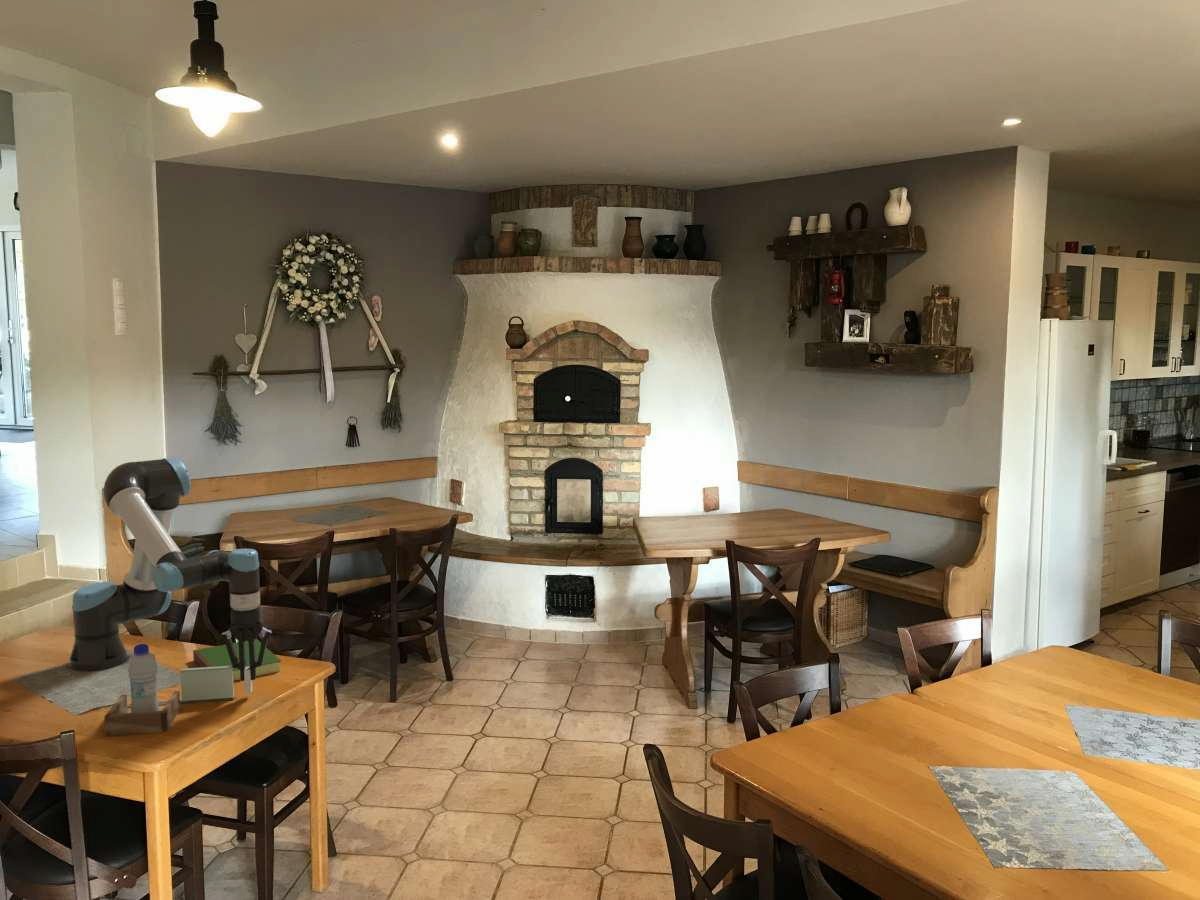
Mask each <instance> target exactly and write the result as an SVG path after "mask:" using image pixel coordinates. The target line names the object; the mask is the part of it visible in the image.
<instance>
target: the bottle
mask: <svg viewBox="0 0 1200 900" xmlns="http://www.w3.org/2000/svg"><path fill="white" fill-rule="evenodd" d="M127 673H128V675H127V677H129V681H130V684H129V685H130V699H131V703H130V704H131V707H130V713H139V712H153V711H160V710H159V708H160V707H159V705H158V702H159V701H158V689H157V673H158V664H157V660H156V656H155V654H154V653H151V652H150V647H149V645H148V644H146V643H140V644H139V643H138V644H137V645H135V646H134V647H133V655H132V656H130V657H129V659H128V666H127Z"/></svg>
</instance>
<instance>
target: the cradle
mask: <svg viewBox="0 0 1200 900" xmlns="http://www.w3.org/2000/svg"><path fill="white" fill-rule="evenodd" d="M180 693H181V692H180V690H174V691H173V693H172V694H171V696H170V698H168V700H167V701H158V706H164V707H163V708H162V710H159V711H153V712H139V713H131V712H128V711H129V709H128V708H131V703H129V705H128V694H127V693H126V694H125V693H124V694H121V695H120V696H119V697H118V698H117V700H116V701H115V703H114V704H112V706H111V707H110V709H109V710H108V712H106V714H105V715H104V717H103V719H104V720H103V721H104V733H105V735H104V736H105V737H113V736H127V735H139V734H141V735H142V734H155V733H166V732H167V733H168V730H169V729H170V727H171V726H172V724H173V722H174V720H175V718H176V717H177V715H178V713H179V712H180V710H181V704H182V705H183V704H185V705H186V704H198V703H211V702H212V703H213V702H215V703H216V702H225V701H227V700H229V701H235V699H236V696H234V697H233V698H222V699H208V700H193V701H182V699H181V698H180V697H181V696H180Z"/></svg>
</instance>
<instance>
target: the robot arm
mask: <svg viewBox="0 0 1200 900" xmlns="http://www.w3.org/2000/svg"><path fill="white" fill-rule="evenodd" d="M191 488H192V482H191V477H190V474H189V470H188V468H187V467H186V465H185V464H184V462H183V461H182V460H180V459H178V458H175V457H172V458H165V457H164V458H161V459H152V460H151V459H150V460H142V461H129V462H128V461H127V462H125V463H121V464H119V465H117V466H116V467H115V468H114V469H112V470H111V471H110V473H109V474H108V475H107V477H106V479H105V482H104V484H103V498H104V501H105V504H106V506H107V507H108V509H109V510H110V511H111V513H112V514H114V515H118V516H119V517H120V519H121V520H122V521H123V523H124V525H125V526H126V528H127V529H128V531H129V532H130V533H131V534H132V536H133V538H134V540H135V543H134V547H133V553H132V560H131V567H130V570H129V571H128V572H126V573H125V574H124V576H123V582H122V583H121V584H116V583H115V582H114V581H102V582H93V583H90V584H88V585H84V586H82V587H80V588H78V589H77V590H76V591H75V592H74V593H73V595H72V605H71V608H72V615H73V619H72V620H73V628H74V630H73V633H74V643H73V646H72V648H71V652H70V655H69V668H70V669H71V670H75V671H79V672H80V671H83V672H87V671H89V672H91V671H101V670H106V669H109V668H113V667H117V666H119V665H122V664H123V663H125V662H126V661H127V658H128V656H127V649H126V648H125V645H124V643H123V640H122V638H121V637H120V633H119V632H120V631H119V625H120V624H125V623H130V622H133V621H138V620H142V619H146V618H152V617H155V616H159V615H161V614H163V613H165V612H166V611H167V609H168V608H169V606H171V605H170V604H171V601H172V592H174V591H180V590H183V589H188V588H191V587H195V586H196V587H197V586H201V585H205V584H210V583H211V584H212V583H216V582H221V581H222V582H223V581H224V582H227V583H229V584H228V585H229V605H230V607H231V609H230V626H229V627H228V630H227V631H224V632H222V633H221V635H220V638H221V640H222V641H223V642H224V643H225V644H224V645H226V647H227V650H228V654H229V657H230V660H231V663H232V666H233V668H238V669H240V682H244V694H252V691H253V681H255V680H256V678H257V676H256V667H260V666H261V665H262V662H263V658H264V653H265V649H266V648H267V644H268V640H269V638H270V637H271V634H272V632H273V631H272V629H267V628H266V627H264V625H263V623H262V619H261V617H262V616H261V613H262V612H261V607H260V605H261V592H260V562H259V554H258V551H257V550H256V549H253V548H236V549H233V550H230V551H226V550H218V549H214V550H210V551H208V552H207V553H206V554H205V555H201V556H194V557H190V558H187V557H186V556H185V555H184V553H183V552H182V550H181V548H179V546H178V545H177V544H176V542H175V541H174V539H173V538H172V537H171V535H170V534H169V531H170V526H171V519H172V515H173V511H174V510H176V509H177V508H178V507H179V505H180V500H181V498H183V497H186V496H188V495H190V492H191ZM260 633H261V637H262V640H261V647H260V652H259V656H258V661H256V655H255V639H258V636H259V635H260ZM232 637H234V638H235V639H236V641H237V642H238V645H239V662H238V659H237V655H236V652H235V649H234V646H233V643H234V642H233V640H232ZM245 641H248V644H249V660H250V667H246V657H245Z"/></svg>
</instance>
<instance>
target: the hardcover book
mask: <svg viewBox="0 0 1200 900" xmlns="http://www.w3.org/2000/svg"><path fill="white" fill-rule="evenodd" d="M232 643H233V646H234V649H235V652H236V655H237V659H238V662H239V645H238V641H237V642H232ZM261 643H262V641H260V640H258V638H256V639H255V655H256V661H258V656H259V652H260V647H261ZM192 653H193V654H192V655H193V662H194V663H195V665H197V666H198V668H202V667H219V666H232V663H231V660H230V657H229V654H228V650H227V647H226V644H221V645H216V646H209V647H206V648H205V647H204V648H199V649H195V650H192ZM245 657H246V667H250V660H249V644H248V641H245ZM281 662H282V660H281V659H280V658H279V657H277V656H276V654H274V653H273V651H272V650H270V649H269V648H267V647H266V649H265V653H264V658H263V662H262V665H261V666H260V667H256V677H259V676H264V675H270V674H275V673H278V672H281ZM234 681H241V679H240V669H238V668H233V682H234Z"/></svg>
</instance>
